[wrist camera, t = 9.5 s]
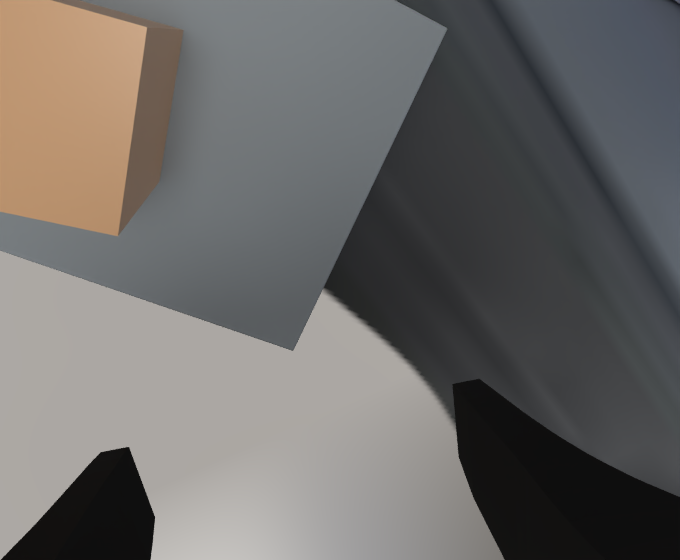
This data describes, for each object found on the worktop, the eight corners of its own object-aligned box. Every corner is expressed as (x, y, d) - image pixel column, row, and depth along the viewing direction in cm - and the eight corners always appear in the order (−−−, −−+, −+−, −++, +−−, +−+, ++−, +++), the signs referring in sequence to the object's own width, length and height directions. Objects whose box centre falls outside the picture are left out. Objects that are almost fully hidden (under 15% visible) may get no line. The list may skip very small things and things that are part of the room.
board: (438, 28, 19) (480, 27, 15) (292, 337, 22) (296, 397, 19) (-204, -314, 14) (-372, -437, 10) (-254, 147, 18) (-391, 176, 14)
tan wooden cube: (183, 29, 17) (147, 27, 12) (159, 181, 18) (117, 236, 13) (14, -19, 16) (-104, -44, 11) (3, 145, 18) (-104, 189, 13)
